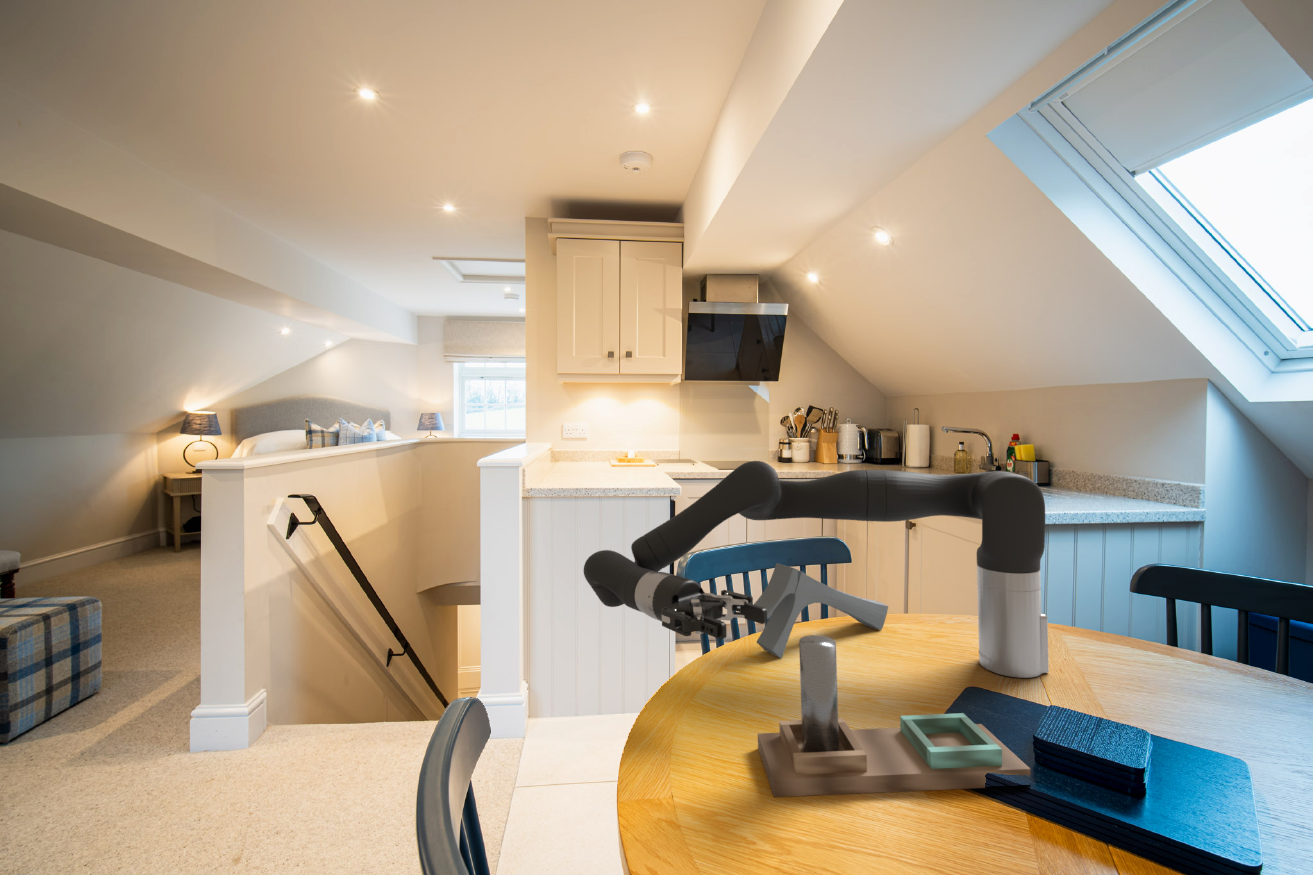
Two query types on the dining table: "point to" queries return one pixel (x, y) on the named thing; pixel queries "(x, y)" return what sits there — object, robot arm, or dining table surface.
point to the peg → (819, 694)
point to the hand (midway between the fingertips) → (745, 623)
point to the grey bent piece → (795, 593)
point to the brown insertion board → (888, 758)
